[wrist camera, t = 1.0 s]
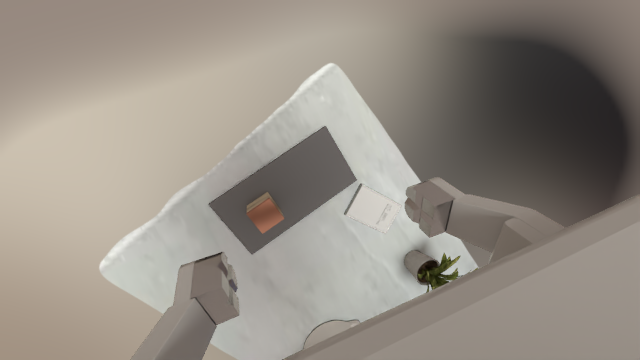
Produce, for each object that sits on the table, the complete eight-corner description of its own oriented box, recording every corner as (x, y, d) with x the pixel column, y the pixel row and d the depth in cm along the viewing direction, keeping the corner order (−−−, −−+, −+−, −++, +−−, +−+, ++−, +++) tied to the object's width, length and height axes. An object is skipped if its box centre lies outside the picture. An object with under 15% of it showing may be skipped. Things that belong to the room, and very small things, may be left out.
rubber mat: (355, 179, 56) (356, 180, 55) (251, 253, 53) (251, 254, 52) (324, 126, 51) (325, 126, 50) (209, 203, 48) (208, 204, 47)
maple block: (281, 210, 52) (284, 218, 47) (261, 223, 51) (262, 233, 46) (267, 191, 50) (269, 198, 45) (246, 205, 49) (246, 214, 45)
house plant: (443, 266, 69) (498, 306, 54) (404, 294, 67) (449, 344, 52) (428, 227, 65) (483, 259, 49) (385, 256, 63) (429, 298, 47)
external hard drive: (359, 182, 57) (398, 203, 61) (342, 213, 57) (382, 231, 62) (362, 184, 55) (402, 205, 60) (345, 215, 56) (385, 234, 60)
